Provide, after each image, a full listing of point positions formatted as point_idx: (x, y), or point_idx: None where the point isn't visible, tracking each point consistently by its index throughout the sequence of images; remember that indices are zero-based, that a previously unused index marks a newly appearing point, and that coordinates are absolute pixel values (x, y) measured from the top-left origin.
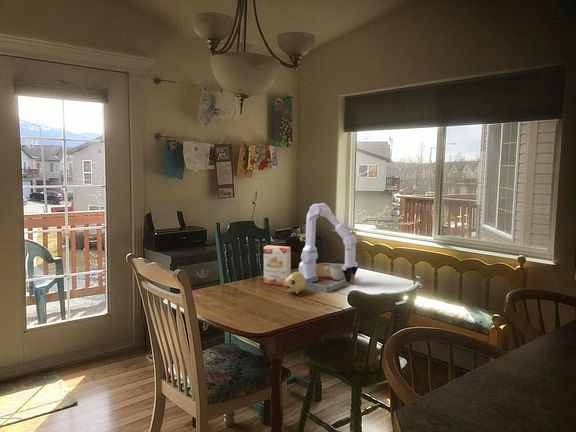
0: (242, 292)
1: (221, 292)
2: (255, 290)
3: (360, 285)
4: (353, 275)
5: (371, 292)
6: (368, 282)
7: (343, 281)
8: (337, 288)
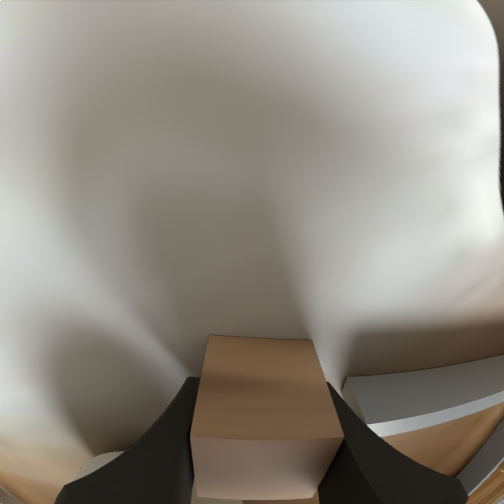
0: (498, 487)
1: (491, 498)
2: (484, 492)
3: (294, 214)
4: (258, 430)
5: (489, 25)
6: (66, 187)
7: (427, 405)
8: (488, 358)
